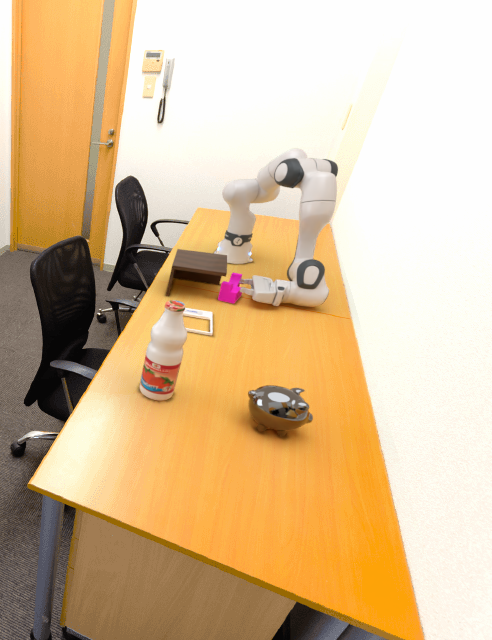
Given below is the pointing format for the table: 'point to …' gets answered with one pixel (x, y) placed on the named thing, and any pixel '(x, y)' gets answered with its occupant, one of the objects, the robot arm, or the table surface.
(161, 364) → the fruit juice
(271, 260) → the table surface
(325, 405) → the table surface
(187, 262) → the shelf
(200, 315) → the photo frame
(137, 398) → the table surface
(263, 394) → the piggy bank
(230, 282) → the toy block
